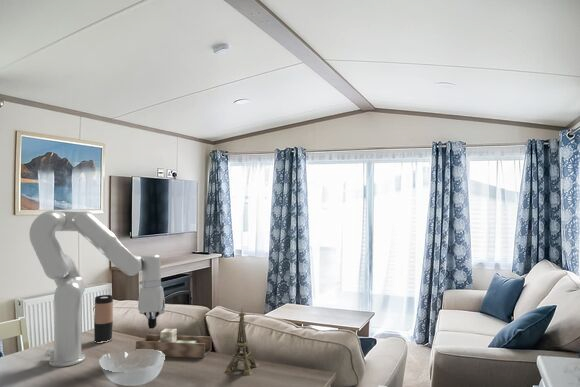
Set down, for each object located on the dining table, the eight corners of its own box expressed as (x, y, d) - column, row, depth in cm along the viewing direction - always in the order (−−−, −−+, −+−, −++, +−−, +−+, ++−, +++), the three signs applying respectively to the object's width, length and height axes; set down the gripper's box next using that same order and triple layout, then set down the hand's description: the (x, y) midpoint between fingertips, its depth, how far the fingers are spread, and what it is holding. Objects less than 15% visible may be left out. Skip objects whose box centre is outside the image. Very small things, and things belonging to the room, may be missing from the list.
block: (160, 344, 168) (160, 332, 168) (165, 340, 173) (165, 328, 173) (171, 344, 167) (172, 332, 168) (176, 340, 172) (176, 328, 172)
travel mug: (90, 343, 181) (91, 298, 182) (100, 337, 189) (101, 294, 190) (105, 344, 180) (106, 298, 181) (115, 338, 188) (116, 295, 189)
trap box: (135, 355, 166) (135, 341, 167) (146, 347, 176) (146, 334, 176) (204, 357, 163) (204, 344, 164) (211, 349, 173) (211, 336, 173)
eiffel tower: (259, 364, 156) (259, 299, 157) (250, 375, 146) (250, 305, 147) (233, 362, 159) (233, 298, 160) (223, 373, 148) (223, 304, 149)
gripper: (130, 285, 169) (131, 330, 168) (164, 285, 168) (165, 330, 167) (139, 282, 177) (139, 325, 176) (172, 282, 175) (172, 325, 174)
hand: (152, 327), depth 171 cm, fingers closed
